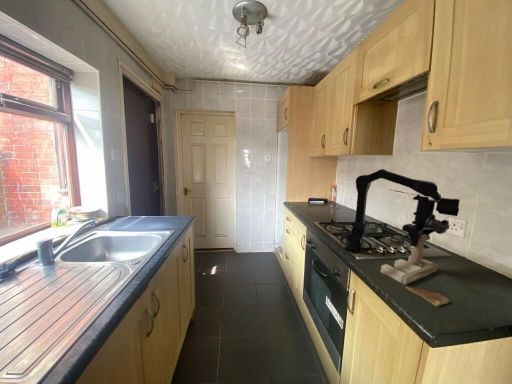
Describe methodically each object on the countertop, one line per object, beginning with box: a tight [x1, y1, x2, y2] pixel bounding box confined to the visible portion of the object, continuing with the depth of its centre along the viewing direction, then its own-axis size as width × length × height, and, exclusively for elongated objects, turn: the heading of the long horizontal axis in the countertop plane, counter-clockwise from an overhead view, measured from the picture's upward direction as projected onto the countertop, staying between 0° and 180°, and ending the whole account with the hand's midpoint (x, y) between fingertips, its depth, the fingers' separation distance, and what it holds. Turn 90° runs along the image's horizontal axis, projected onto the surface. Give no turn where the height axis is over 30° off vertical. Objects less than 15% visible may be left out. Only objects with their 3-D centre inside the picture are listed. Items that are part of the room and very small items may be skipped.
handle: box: [410, 234, 431, 266], centre depth 95 cm, size 5×6×15 cm
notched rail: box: [380, 255, 438, 286], centre depth 93 cm, size 10×24×3 cm, turn 117°
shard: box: [405, 285, 450, 307], centre depth 78 cm, size 11×8×2 cm
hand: (418, 245), depth 95 cm, fingers closed on handle, 5 cm apart
